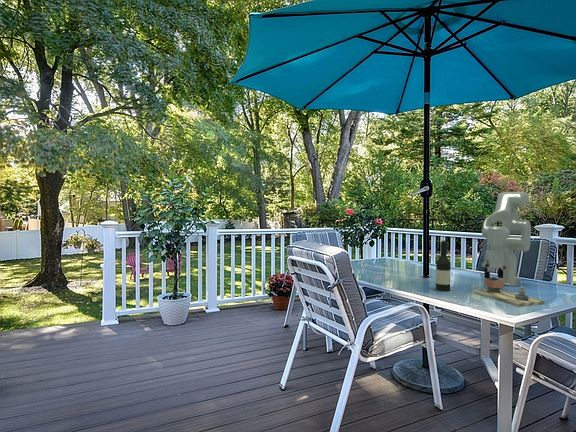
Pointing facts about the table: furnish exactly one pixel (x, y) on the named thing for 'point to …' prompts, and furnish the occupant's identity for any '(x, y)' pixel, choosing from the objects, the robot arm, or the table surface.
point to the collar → (494, 283)
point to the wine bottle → (443, 270)
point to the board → (509, 296)
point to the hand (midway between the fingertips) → (493, 278)
